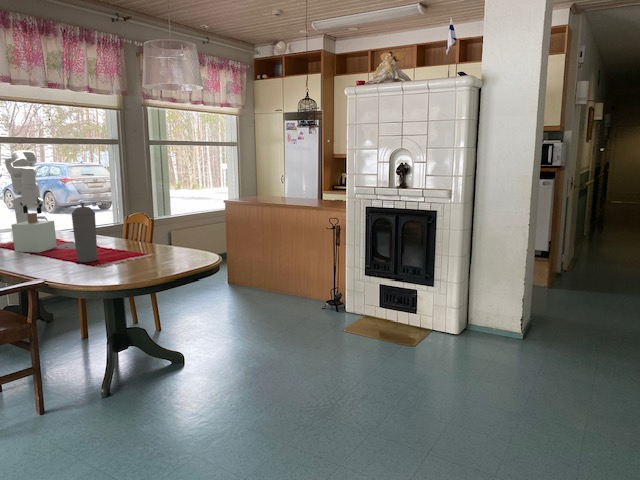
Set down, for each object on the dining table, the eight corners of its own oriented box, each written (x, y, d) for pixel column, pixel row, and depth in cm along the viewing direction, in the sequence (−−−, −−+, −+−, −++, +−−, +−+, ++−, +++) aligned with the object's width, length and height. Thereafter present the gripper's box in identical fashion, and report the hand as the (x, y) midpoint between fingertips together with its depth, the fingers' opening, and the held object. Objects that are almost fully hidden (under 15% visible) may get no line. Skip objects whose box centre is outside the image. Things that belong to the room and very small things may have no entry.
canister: (75, 264, 280) (70, 204, 273) (75, 259, 291) (70, 202, 284) (99, 261, 286) (94, 203, 279) (98, 257, 297) (93, 201, 290)
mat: (49, 248, 322) (49, 248, 321) (68, 242, 341) (68, 242, 341) (76, 249, 319) (76, 249, 319) (94, 243, 338) (94, 243, 338)
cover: (15, 251, 311) (10, 215, 307) (34, 246, 328) (29, 211, 323) (39, 252, 309) (34, 215, 304) (57, 246, 326) (52, 211, 321)
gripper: (13, 187, 308) (16, 213, 312) (37, 187, 306) (40, 214, 309) (21, 186, 315) (24, 212, 319) (46, 186, 313) (48, 212, 317)
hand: (32, 213), depth 314 cm, fingers open, 9 cm apart
